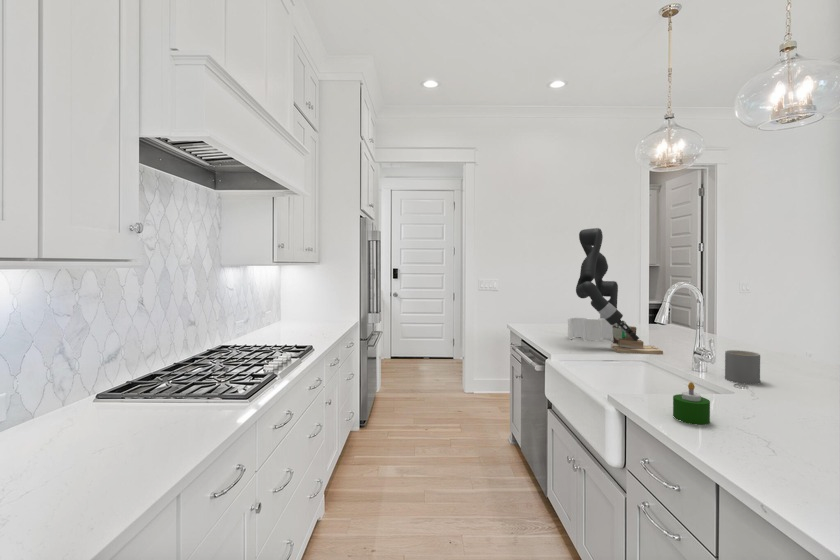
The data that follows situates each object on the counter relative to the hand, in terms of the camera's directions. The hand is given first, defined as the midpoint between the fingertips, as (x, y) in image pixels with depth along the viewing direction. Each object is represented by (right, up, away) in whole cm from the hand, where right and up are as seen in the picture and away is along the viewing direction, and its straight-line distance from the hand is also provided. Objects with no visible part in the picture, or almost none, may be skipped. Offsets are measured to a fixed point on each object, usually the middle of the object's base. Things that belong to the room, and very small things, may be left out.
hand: (636, 338), depth 204 cm
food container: (+3, -6, +18) cm, 20 cm away
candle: (-34, -9, -93) cm, 99 cm away
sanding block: (-3, -4, +1) cm, 5 cm away
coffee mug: (+10, -7, -54) cm, 55 cm away
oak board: (0, -6, +1) cm, 6 cm away
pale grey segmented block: (-8, -6, +34) cm, 36 cm away
